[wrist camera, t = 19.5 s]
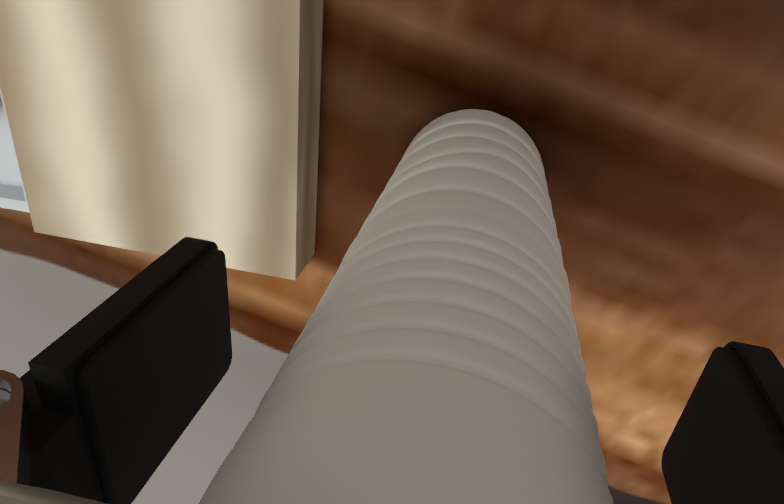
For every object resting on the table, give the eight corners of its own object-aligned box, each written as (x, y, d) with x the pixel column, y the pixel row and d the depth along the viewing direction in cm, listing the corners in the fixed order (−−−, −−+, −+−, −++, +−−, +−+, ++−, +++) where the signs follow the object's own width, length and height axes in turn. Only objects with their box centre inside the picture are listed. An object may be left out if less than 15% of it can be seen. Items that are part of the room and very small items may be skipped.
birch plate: (324, -21, 22) (300, -22, 20) (314, 252, 28) (295, 280, 26) (24, -55, 24) (-35, -61, 21) (75, 210, 30) (34, 231, 27)
